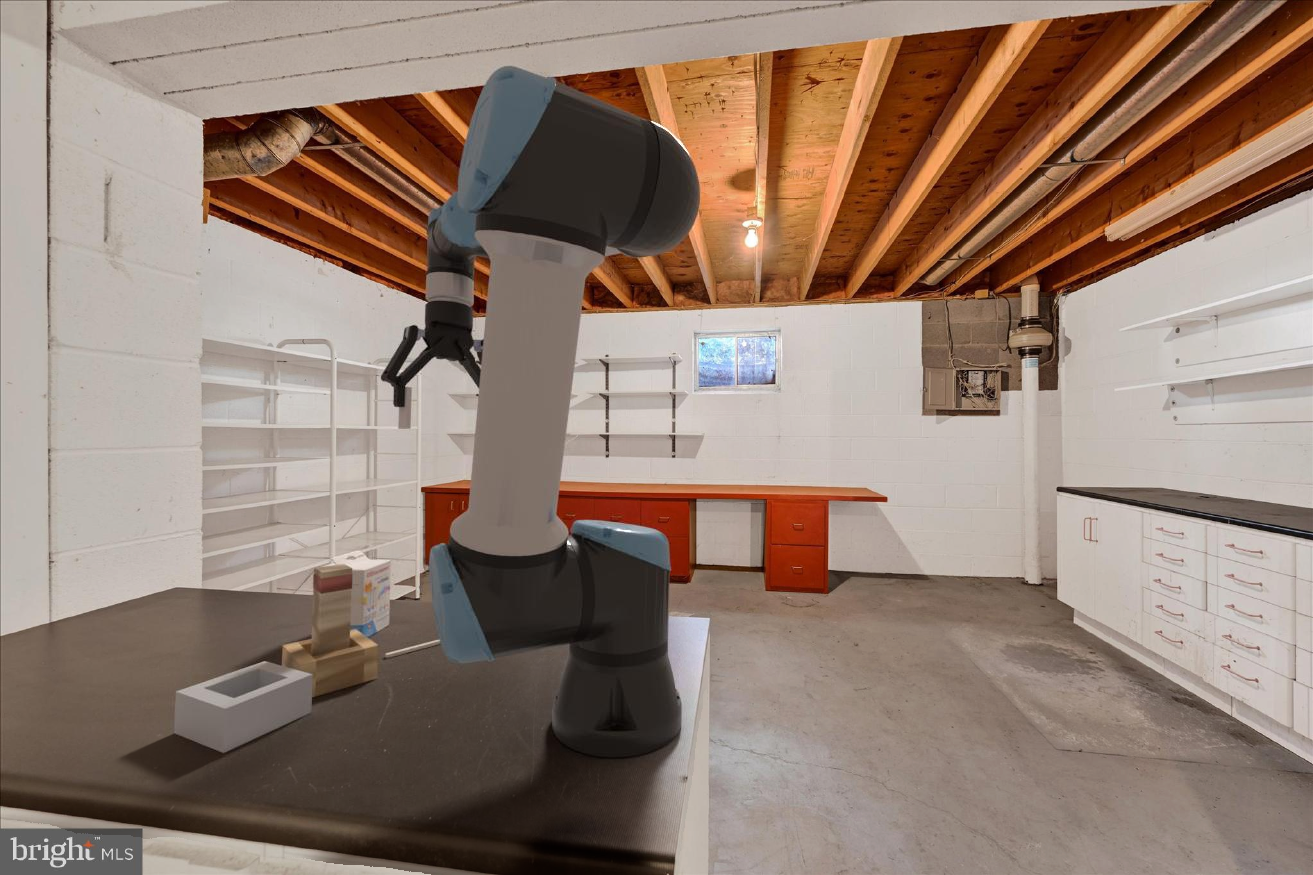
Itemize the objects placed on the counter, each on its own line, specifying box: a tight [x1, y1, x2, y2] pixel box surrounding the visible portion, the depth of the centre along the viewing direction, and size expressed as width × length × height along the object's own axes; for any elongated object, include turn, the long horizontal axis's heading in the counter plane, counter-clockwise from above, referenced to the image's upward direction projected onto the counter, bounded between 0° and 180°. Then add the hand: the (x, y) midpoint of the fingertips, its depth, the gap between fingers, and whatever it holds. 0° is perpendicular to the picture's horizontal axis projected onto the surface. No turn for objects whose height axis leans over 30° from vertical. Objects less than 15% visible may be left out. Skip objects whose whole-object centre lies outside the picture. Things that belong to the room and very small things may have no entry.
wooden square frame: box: [281, 629, 379, 698], centre depth 70 cm, size 9×9×4 cm
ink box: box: [322, 549, 392, 638], centre depth 88 cm, size 9×8×13 cm
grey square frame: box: [173, 660, 313, 754], centre depth 59 cm, size 9×9×4 cm
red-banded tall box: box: [311, 564, 353, 657], centre depth 70 cm, size 4×4×15 cm
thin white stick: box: [384, 639, 441, 659], centre depth 81 cm, size 1×10×1 cm, turn 138°
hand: (446, 430), depth 86 cm, fingers open, 13 cm apart
